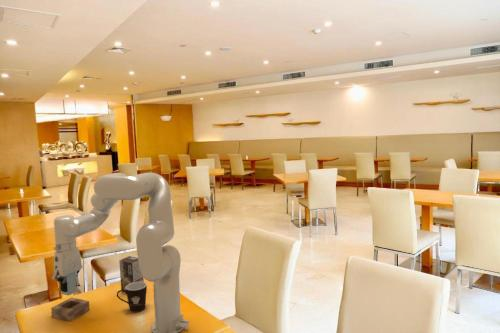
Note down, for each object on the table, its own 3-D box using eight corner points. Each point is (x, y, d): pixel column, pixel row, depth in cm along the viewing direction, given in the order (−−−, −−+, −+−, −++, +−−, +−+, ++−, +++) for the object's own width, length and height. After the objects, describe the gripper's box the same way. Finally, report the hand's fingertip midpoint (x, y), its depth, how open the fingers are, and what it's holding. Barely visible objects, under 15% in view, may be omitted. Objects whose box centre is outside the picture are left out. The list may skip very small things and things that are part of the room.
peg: (76, 291, 153) (75, 268, 152) (68, 295, 149) (67, 271, 148) (69, 290, 154) (68, 267, 153) (61, 294, 151) (59, 270, 150)
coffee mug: (151, 304, 158) (150, 282, 157) (140, 314, 150) (139, 291, 149) (128, 302, 162) (127, 280, 161) (116, 311, 153) (114, 288, 152)
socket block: (89, 310, 155) (88, 301, 155) (69, 321, 146) (69, 312, 146) (72, 306, 159) (71, 297, 159) (51, 317, 150) (51, 307, 149)
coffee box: (144, 292, 171) (143, 258, 170) (134, 297, 166) (132, 263, 164) (131, 288, 176) (129, 255, 175) (120, 293, 171) (118, 259, 169)
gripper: (54, 253, 141) (58, 299, 142) (89, 241, 156) (91, 282, 158) (41, 251, 143) (44, 296, 145) (76, 239, 159) (78, 280, 161)
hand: (68, 288), depth 151 cm, fingers closed on peg, 4 cm apart
